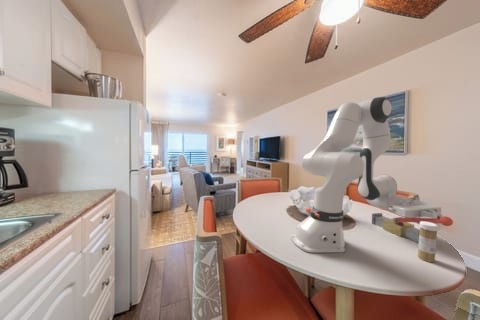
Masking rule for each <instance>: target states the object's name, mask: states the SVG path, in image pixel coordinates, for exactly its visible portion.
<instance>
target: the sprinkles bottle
mask: <svg viewBox="0 0 480 320" xmlns="http://www.w3.org/2000/svg"><path fill="white" fill-rule="evenodd" d="M419 229H420V235H419V244H418V246H417V247H418V252H417V257H418V258H419V259H421V260H422V261H425V262H428V263H436V253H437V235H438V231H439V225H438V224H437V223H431V222H425V221H421V222H420V223H419Z"/></svg>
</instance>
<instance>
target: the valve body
mask: <svg viewBox="0 0 480 320" xmlns="http://www.w3.org/2000/svg"><path fill="white" fill-rule="evenodd" d="M371 224H372V225H376V226H378V227H380V228H382V230H384V231H386V232H388V233H391V234H393V235H395V236H398V237H400V238H402V237H404V238H406V239H408V240H410V241H412V242H413V241H414V242H415V243H417V244H418V245H419V235H420V228H417V227H415V225H414V224H413V223H411V222H394V221H393V218H389V217H387V216H384V215H383V213H382V212H374V213H371Z"/></svg>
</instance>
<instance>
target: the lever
mask: <svg viewBox="0 0 480 320" xmlns="http://www.w3.org/2000/svg"><path fill="white" fill-rule="evenodd" d="M392 219H393V221H394V222H408V223H416V224H417V223H419V224H420V222H421V221H425V222H431V223H434V224H441V225H442V226H445V227H449V226H453V224H454V220H453V219H452V218H450V217H449V216H444V215H442V217H440V218H439V219H435V218H431V217H426V218H425V217H424V218H423V217H413V218H405V217H402V216H399V217H393V218H392Z"/></svg>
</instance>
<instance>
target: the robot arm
mask: <svg viewBox="0 0 480 320" xmlns="http://www.w3.org/2000/svg"><path fill="white" fill-rule="evenodd" d="M392 113H393V105H392V102H391V100H390V99H389V98H387V97H385V96H377V97H374V98H370V99H366V100H359V101H357V102H351V101H350V102H345V103H342V104H341V105H340V106H339V107H338V109H337V110H336V112H335V113H334V115H333V118H331V122H330V124H329V127H328V129H327V132H326V134H325V136H324V138H323V139H322V140H321V142H320V143H319V144H318V145H317V146H316V147H315V148H314V149H312V150H311V151H309V152H307V153H306V154H305V155H304V156H303V158H302V160H301V167H302V169H303V170H304V171H305V173H309V174H311V175H313V176H319V177H324V178H326V179H325V182H324V184H322V185H320V186H318V187H317V188H316V189H315V190H314V198H313V199H314V203H313V205H314V206H312V209H311V208H309V207H306V208H305V211H306V213H308V214H309V216H307V217H306V218H305V219H304V220H302V221H301V222H300V223H298V224H297V226H296V229H295V232H294V233H291V234H290V240H291V241H292V242H293V244H294V245H296V246H297V247H298V248H299V249H300V250H302V251H304V252H306V253H345V251H346V249H345V247H346V240H345V237H344V229H343V220H344V209H343V204H344V196H345V192H346V189H347V188H348V186H349V185H350V184H351V183H352V182H354V181H355V180H357V179H358V180H357V181H358V182H357V186H356V189H357V193H358V195H360V197H362V198H363V199H365V200H366V201H367V203H369V204H370V205H371V206H373V207H375V208H377V209H381V210H384V211H389V213H392V214H395V215H397V216H399V217H402V218H423V217H424V218H425V217H426V218H435V219H439V218H440V217H442V216H443V214H442V207H441V206H439V205H436V204H432V203H430V202H426V201H422V200H420V199H418V198H414V197H413V198H412V197H411V198H410V197H405V196H401V195H397V193H398V184H397V181H396V180H395V179H394V177H392V176H390V175H388V174H382V175H379V176H375V177H374V165H375V161H376V160H377V159H378V158H379V157H380V156H381V155H382V154H385V153H386V151H388V150H389V149H390V146H391V143H392V138H391V129H390V125H389V121H388V119H389V118H390V116H391V114H392ZM359 126H361V133H362V134H361V136H362V148H361V149H360V152H359V154H356V153H352V152H348V151H343V150H346V149H348V148H349V147H350V146H352V144H354V141H355V138H356V135H357V132H358V130H359Z"/></svg>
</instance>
